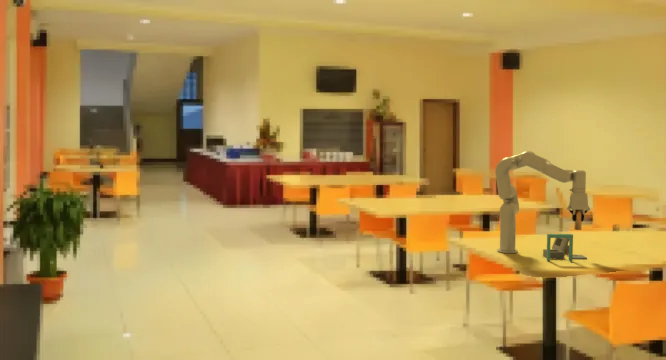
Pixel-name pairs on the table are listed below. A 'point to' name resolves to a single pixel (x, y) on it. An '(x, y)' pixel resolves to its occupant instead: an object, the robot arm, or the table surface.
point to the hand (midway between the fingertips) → (578, 220)
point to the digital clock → (561, 244)
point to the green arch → (560, 237)
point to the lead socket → (554, 253)
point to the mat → (578, 257)
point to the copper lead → (578, 220)
